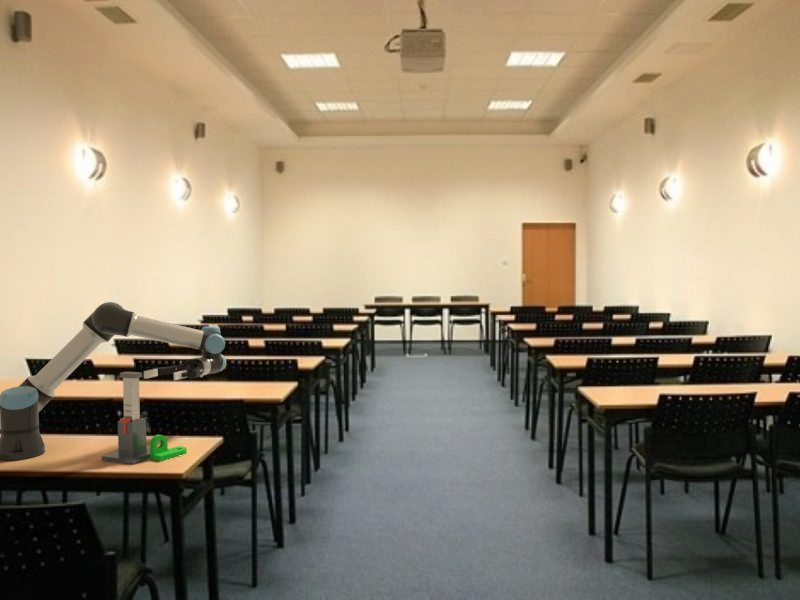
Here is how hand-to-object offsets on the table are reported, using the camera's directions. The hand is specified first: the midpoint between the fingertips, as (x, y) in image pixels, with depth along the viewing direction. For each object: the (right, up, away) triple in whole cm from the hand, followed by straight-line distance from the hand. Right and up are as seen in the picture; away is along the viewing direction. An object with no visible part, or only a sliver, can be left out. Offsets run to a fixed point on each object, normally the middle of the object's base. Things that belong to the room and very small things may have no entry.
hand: (159, 375), depth 231 cm
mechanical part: (+8, -27, -10) cm, 30 cm away
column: (-5, -25, -11) cm, 28 cm away
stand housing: (-5, -27, -11) cm, 30 cm away
